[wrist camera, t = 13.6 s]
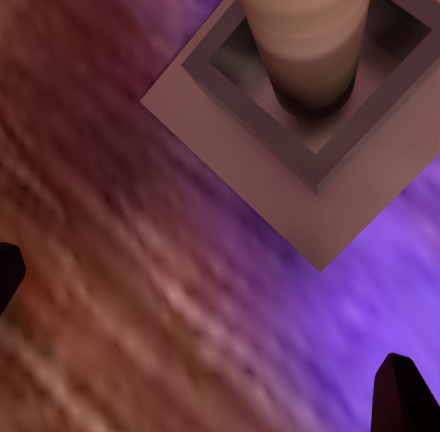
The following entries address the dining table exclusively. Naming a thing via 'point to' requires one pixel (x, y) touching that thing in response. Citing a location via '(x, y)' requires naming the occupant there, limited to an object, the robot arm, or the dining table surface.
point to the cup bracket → (310, 124)
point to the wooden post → (309, 50)
